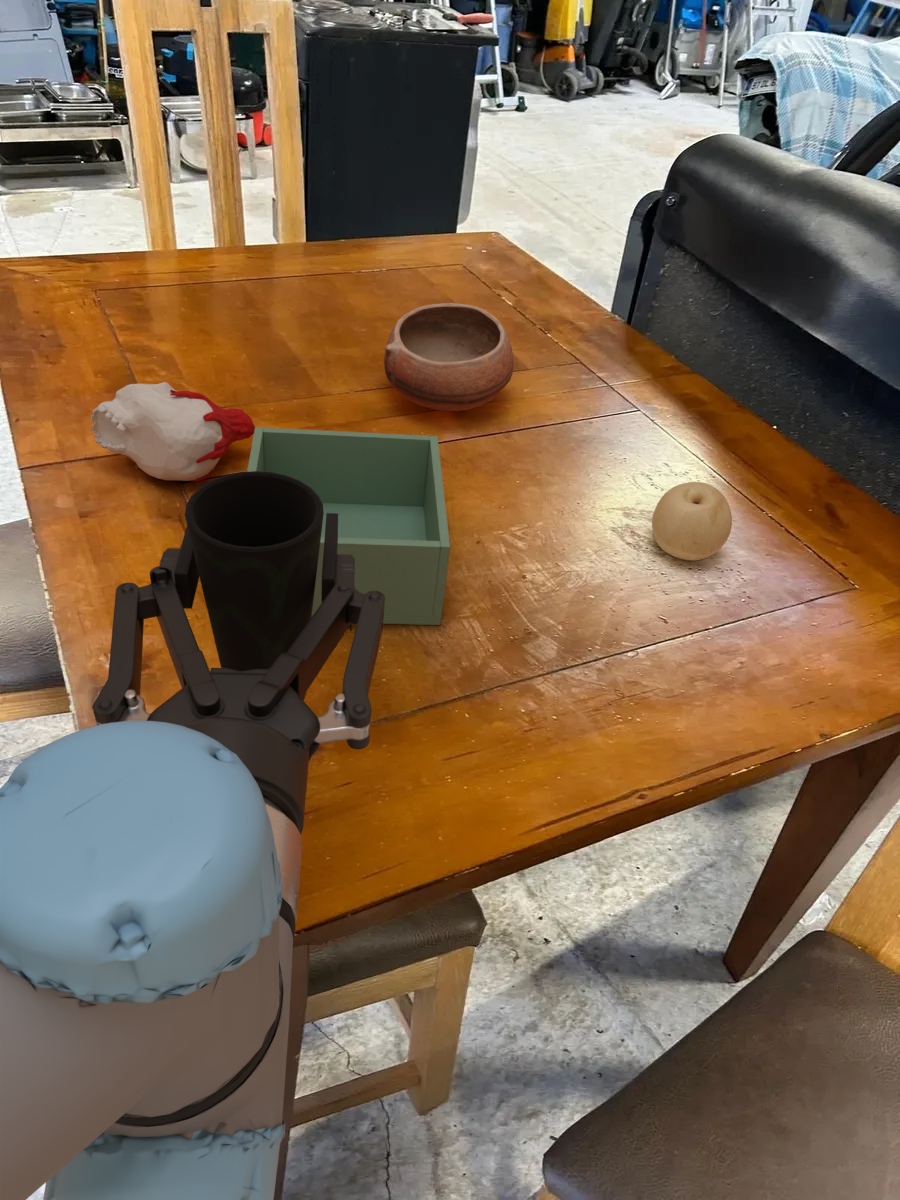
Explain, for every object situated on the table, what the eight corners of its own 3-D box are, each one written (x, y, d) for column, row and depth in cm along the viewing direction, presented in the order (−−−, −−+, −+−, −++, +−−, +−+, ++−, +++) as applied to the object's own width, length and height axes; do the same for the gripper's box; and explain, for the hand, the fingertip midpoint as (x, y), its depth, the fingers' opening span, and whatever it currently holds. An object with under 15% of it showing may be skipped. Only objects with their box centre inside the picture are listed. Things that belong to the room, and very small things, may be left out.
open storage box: (240, 620, 78) (234, 539, 72) (259, 503, 91) (255, 426, 85) (440, 625, 80) (450, 546, 74) (429, 510, 93) (437, 435, 87)
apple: (732, 535, 94) (759, 506, 87) (684, 586, 92) (708, 560, 85) (676, 487, 95) (698, 455, 88) (628, 536, 93) (646, 507, 86)
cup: (288, 716, 54) (284, 565, 46) (179, 678, 56) (156, 525, 48) (341, 638, 60) (345, 491, 52) (240, 605, 61) (229, 457, 54)
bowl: (359, 405, 108) (362, 327, 101) (417, 357, 119) (423, 284, 112) (476, 444, 103) (487, 365, 97) (525, 390, 115) (537, 317, 108)
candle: (90, 458, 93) (220, 436, 102) (138, 511, 87) (271, 482, 96) (86, 377, 88) (223, 361, 97) (136, 428, 81) (277, 406, 90)
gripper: (-1, 877, 41) (110, 566, 58) (438, 876, 44) (421, 577, 61) (-44, 778, 36) (90, 470, 53) (453, 783, 39) (430, 486, 56)
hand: (266, 527), depth 57 cm, fingers closed on cup, 8 cm apart
